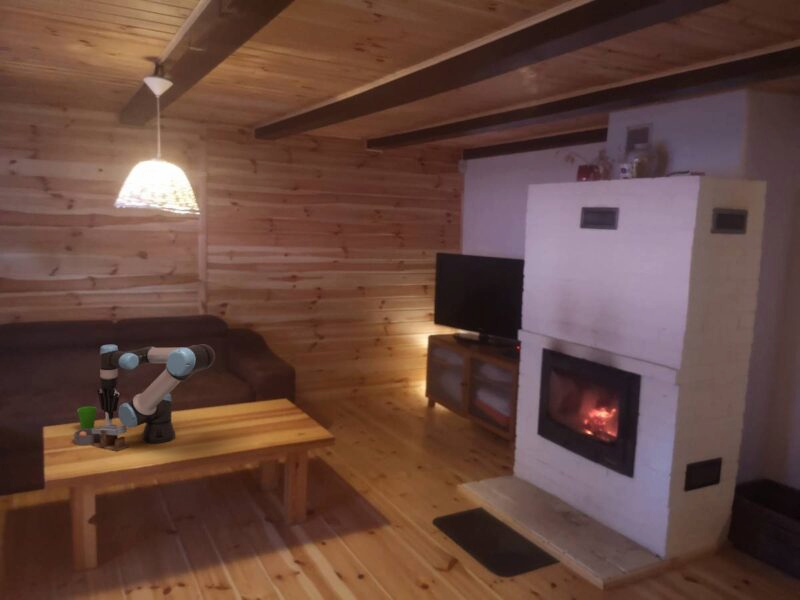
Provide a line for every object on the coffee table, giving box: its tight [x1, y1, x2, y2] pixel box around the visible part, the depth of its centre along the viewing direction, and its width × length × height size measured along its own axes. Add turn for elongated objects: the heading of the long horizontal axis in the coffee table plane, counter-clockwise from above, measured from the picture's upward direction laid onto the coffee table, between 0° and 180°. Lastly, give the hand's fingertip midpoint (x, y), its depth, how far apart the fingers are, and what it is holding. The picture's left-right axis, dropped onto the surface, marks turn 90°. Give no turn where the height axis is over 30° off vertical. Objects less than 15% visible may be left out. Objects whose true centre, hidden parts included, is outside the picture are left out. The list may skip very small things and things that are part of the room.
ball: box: [79, 431, 87, 436], centre depth 302 cm, size 4×4×4 cm
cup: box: [76, 406, 98, 430], centre depth 315 cm, size 9×9×11 cm
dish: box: [73, 427, 101, 446], centre depth 300 cm, size 11×11×4 cm
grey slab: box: [91, 424, 128, 436], centre depth 298 cm, size 16×12×3 cm
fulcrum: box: [90, 425, 130, 453], centre depth 295 cm, size 16×9×9 cm, turn 68°
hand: (108, 424), depth 303 cm, fingers closed
